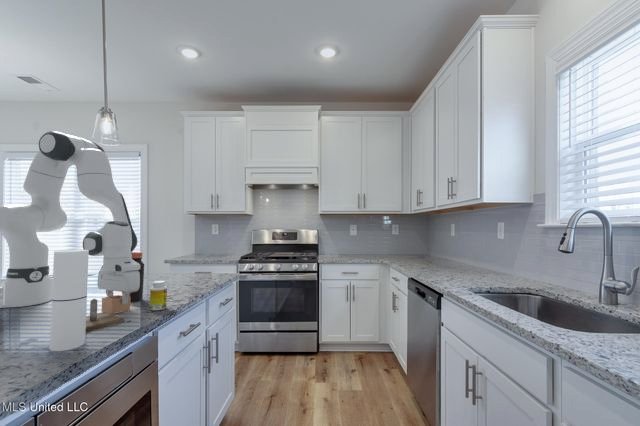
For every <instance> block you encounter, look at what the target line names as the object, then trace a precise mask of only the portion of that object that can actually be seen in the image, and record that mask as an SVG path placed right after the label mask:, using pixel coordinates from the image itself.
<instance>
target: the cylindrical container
mask: <svg viewBox="0 0 640 426" xmlns="http://www.w3.org/2000/svg"><path fill="white" fill-rule="evenodd" d="M89 256H90V255H89V250H84V249H62V250H55V251H53V264H52V265H53V266H52V267H53V269H52V270H53V271H52V279H53V286H52V300H51V312H50V336H49V350H50V352H63V351H70V350H74V349H77V348H79V347H82V346H83V345H85V343H86V333H85V331H86V316H87V305H88V304H87V303H88V278H89V277H88V276H89V273H88V272H89Z"/></svg>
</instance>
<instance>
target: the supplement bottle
mask: <svg viewBox="0 0 640 426" xmlns="http://www.w3.org/2000/svg"><path fill="white" fill-rule="evenodd" d="M149 289H150V290H149V292H150V294H149V310H151V311H161V310H162V311H163V310H165V309H166V308H167V300H168V299H167V296H168V295H167V294H168V287H167V286H166V281H165V280H155V281H152V287H150V288H149Z"/></svg>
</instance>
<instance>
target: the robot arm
mask: <svg viewBox="0 0 640 426" xmlns="http://www.w3.org/2000/svg"><path fill="white" fill-rule="evenodd" d="M38 149H39V150H38V151H37V152H36V154H35V155H34V158H33V160H32V162H31V163H30V165H29V169H28V172H27V173H26V176H25V179H24V181H23V185H22V187H23V190H24V191H25V192H26V193H27V194H29V195H30V197H31V203H30V204H19V203H9V204H2V205H0V234H1V236H2V237H3V238H4V240H5V241H6V244H7V245H8V250H9V251H8V252H9V267H8V268H7V271H6V273H5V275H6V276H5V280H4V281H3V282H2V283H1V284H0V309H5V308H6V309H7V308H18V307H19V308H20V307H21V308H22V307H29V306H35V305H39V304H40V305H42V304H44V303H48V302H50V301H51V302H52V286H53V277H52V278H51V277H50V275H49V274H50V266H49V247H48V245H47V244H45V243H44V242H42V241H40V239H39V237H38V235H37V233H48V232H53V231H57V230H61V229H63V228H64V227H65V226H66V224H67V222H68V217H67V213H66V212H65V211H64V210H63V208H62V206H61V201H60V196H61V191H62V188H63V186H64V182H65V180H66V177H67V173H68V171H69V168H70V167H72V166H75V167H76V181H77V186H78V187H77V188H78V190H79V192H80V193H81V194H82V195H83V196H84V197H85V198H87V199H89V200H90V201H94V202H97V203H99V204H101V205H103V206H104V207H106V208H107V209H109V211H110V212H111V215H112V218H113V220H112V221H107V222H105V223H104V225H103V226H102V227H101V228H99V229H96V230H92V231H90V232H88V233H87V234H85V236H84V238H83V240H82V248H83V249H82V250H89V256H91V257H103V258H102V259H103V260H102V266H101V267H100V270H99V271H98V275H97V285H96V286H97V289H99V290H105V294H106V297H110V296H115V295H114V292H120V293H121V295H123V297H122V299H121V300H120V301H121V302H120V303H121V304H127V303H128V297H129V295H130V293H131V292H136V291H138V289H139V287H140V273H139V271H138V270H140V264H139V263H137V262H135V261H134V260H133V259H132V254H131V252H134V250H135V249H136V248H137V246H138V238H137V235H136V233H135V230H134V228H133V225H132V221H131V218H130V213H129V212H128V207H127V204H126V201H125V198H124V196H123V194H122V193H121V191H118V189H117V186H115V182H114V180H113V172H112V166H111V163H110V160H109V158H108V155H107V153H106V152H105V149H104V148H103V147H102V146H101V145H99V144H98V143H96V142H93V141H90V140H87V139H85V138H82V137H78V136H76V135H75V136H74V135H70V134H66V133H63V132H61V131H47V132H45V133H44V134H42V135H41V136H40V138H39V140H38Z"/></svg>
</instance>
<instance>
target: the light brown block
mask: <svg viewBox="0 0 640 426" xmlns="http://www.w3.org/2000/svg"><path fill="white" fill-rule="evenodd" d="M122 297H123V295H122V293H121V294H120V293H119V294H115V295H114V296H110V297H107V296H106V297H102V298H101V313H102V312H104V313H108V314H112V315H116V314H118V313H123V312H126V311H127V312H128V311H130V310H131V302H130V300H131V296H129V297H128V303H127V304H121V303H120V302H121V301H120V300H121V299H122Z"/></svg>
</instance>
